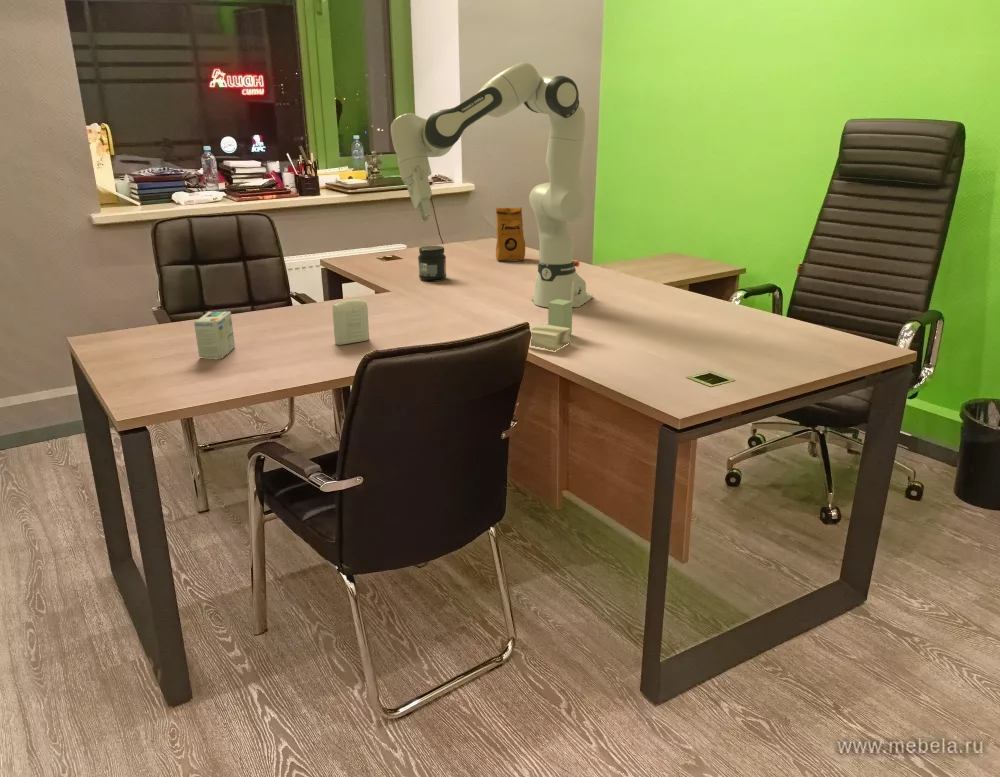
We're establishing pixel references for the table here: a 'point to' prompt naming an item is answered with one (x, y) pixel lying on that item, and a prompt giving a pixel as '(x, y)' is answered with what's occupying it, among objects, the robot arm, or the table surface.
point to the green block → (560, 313)
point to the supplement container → (432, 263)
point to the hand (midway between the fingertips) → (427, 218)
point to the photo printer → (350, 321)
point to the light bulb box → (214, 334)
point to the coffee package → (510, 234)
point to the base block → (550, 336)
